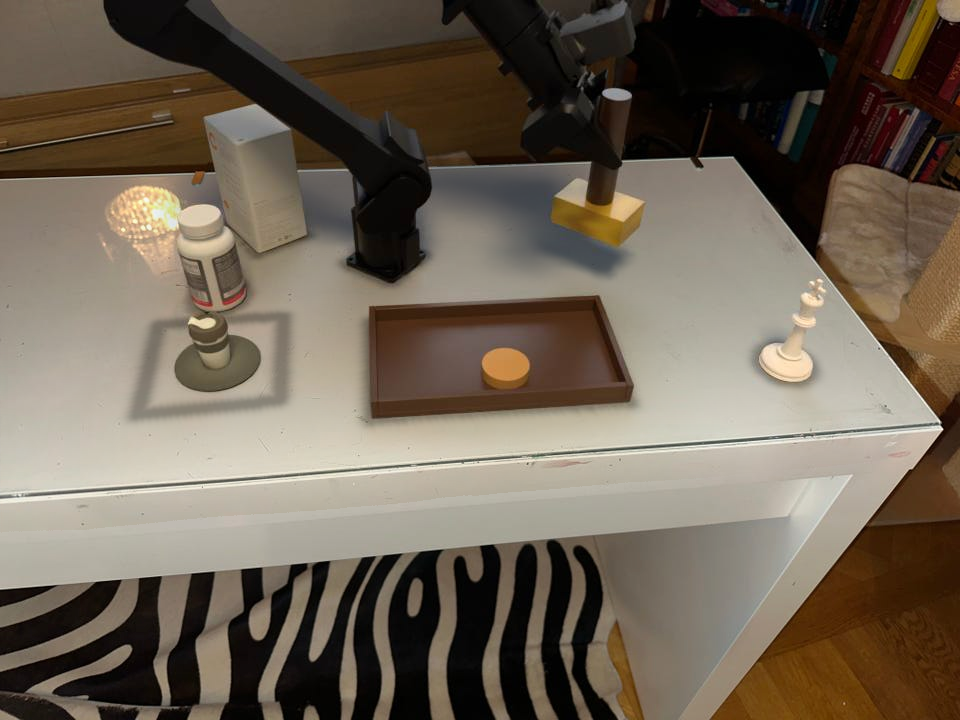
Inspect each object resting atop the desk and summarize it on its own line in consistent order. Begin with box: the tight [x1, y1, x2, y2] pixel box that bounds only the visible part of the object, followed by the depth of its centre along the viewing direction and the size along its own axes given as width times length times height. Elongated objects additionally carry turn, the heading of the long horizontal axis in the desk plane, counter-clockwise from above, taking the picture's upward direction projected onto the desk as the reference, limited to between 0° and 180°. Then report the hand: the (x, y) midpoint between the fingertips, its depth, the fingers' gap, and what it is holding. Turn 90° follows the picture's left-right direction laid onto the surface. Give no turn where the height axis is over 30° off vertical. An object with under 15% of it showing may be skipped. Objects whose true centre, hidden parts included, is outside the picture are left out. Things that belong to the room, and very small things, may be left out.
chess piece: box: [758, 278, 828, 383], centre depth 69 cm, size 5×5×10 cm
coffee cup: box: [173, 311, 261, 392], centre depth 68 cm, size 12×12×5 cm
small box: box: [203, 103, 308, 254], centre depth 82 cm, size 8×6×13 cm
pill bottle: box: [176, 203, 247, 313], centre depth 74 cm, size 5×5×10 cm
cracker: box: [481, 348, 530, 389], centre depth 69 cm, size 4×4×1 cm
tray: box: [368, 294, 635, 419], centre depth 71 cm, size 23×13×2 cm, turn 97°
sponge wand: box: [550, 87, 646, 248], centre depth 74 cm, size 8×5×14 cm, turn 56°
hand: (620, 160), depth 74 cm, fingers closed on sponge wand, 3 cm apart
